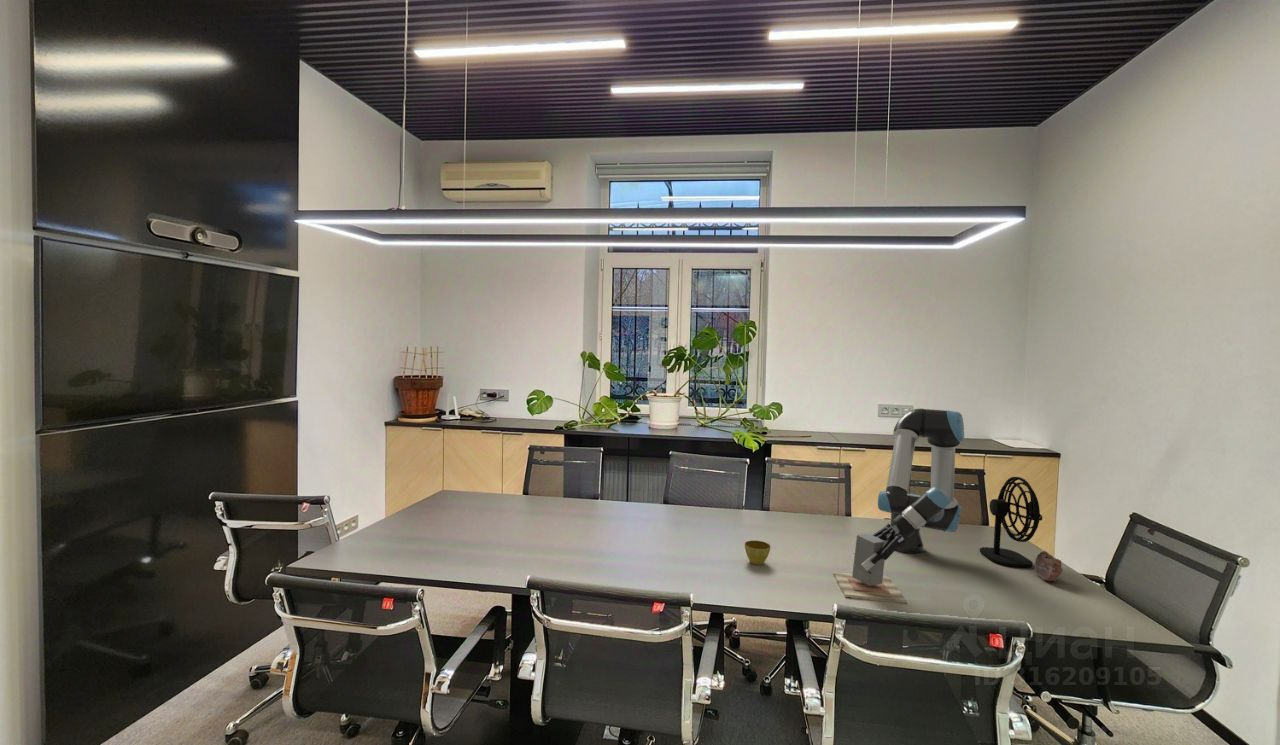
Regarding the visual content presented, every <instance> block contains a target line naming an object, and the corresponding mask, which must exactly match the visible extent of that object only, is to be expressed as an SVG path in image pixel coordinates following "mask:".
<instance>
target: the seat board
mask: <svg viewBox="0 0 1280 745" xmlns="http://www.w3.org/2000/svg"><path fill="white" fill-rule="evenodd" d="M832 573H833V574H832V575H834V576H833V577H834V579H835V581H836V584H837V585H838V586H839V589H840V591H841V590H842V591H841V592H843V593H842V594H844V595H843V597H844V598H846V597H853V598H852V599H857V598H863V599H862V600H867V599H870V600H871V601H879V602H881V601H882V602H888V603H889V602H891V603H903V604H907V598H906V597H905V596H904V595H903V594H902V592H901V591H900V590H899V589H898V587H897V585H895V583H894V582H893V581H892V579H891V578H890V577H889V576H883V579H882V584H878V585H872V586H869V585H867V584H865V583H863V582H861V581H859V580H857V579H855V578H853V576H852V575H853V573H848V572H837V571H834V572H832Z"/></svg>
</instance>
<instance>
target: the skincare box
mask: <svg viewBox="0 0 1280 745" xmlns="http://www.w3.org/2000/svg"><path fill="white" fill-rule="evenodd" d="M855 541H856V542H855V550H854V553H855V555H854V559H853V568H852V574H853V575H852V576H853V578H855V579H857V580H859V581H861V582H863V583H865V584H867V585H869V586H872V585H878V584H882V579H883V577H884V571H885V570H884V568H885V561H886V560H885V559H881V560H880V561H879V562H877V563H876V564H875V565H874V566H872V567H871V568H870V569H869V570H868V571H867V570H866V569H865V568H864V567H863V566H862V565H861V564H862V563H863V562H864V561H866V560H867V559H868V558H869V557H870V556H872V555H873V554H874V553H875V552H876V551H879V550H880V548H881V547H882V546H883V544H884V543H885V542H886V541H884V540H882V539H880V538H878V537H875V536H873V534H870V533H866V534H865V533H864V534H862V533H861V534H857V535H856V540H855ZM876 554H877V553H876Z"/></svg>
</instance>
